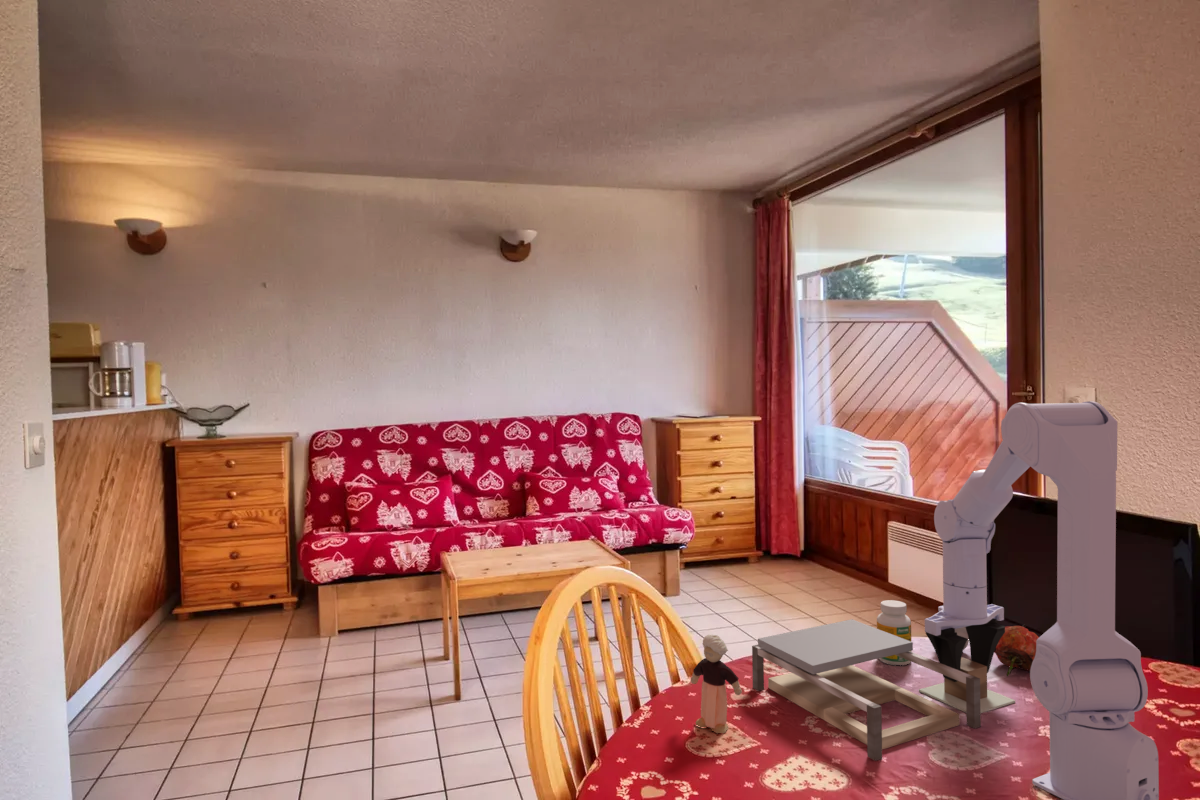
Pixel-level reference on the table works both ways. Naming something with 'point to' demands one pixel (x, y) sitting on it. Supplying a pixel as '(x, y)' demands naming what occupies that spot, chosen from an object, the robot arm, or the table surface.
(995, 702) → the rubber mat
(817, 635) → the sliding cover
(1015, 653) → the red rounded fruit
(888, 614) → the supplement bottle
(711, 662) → the grandmother figurine
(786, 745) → the table surface
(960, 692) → the walnut block
